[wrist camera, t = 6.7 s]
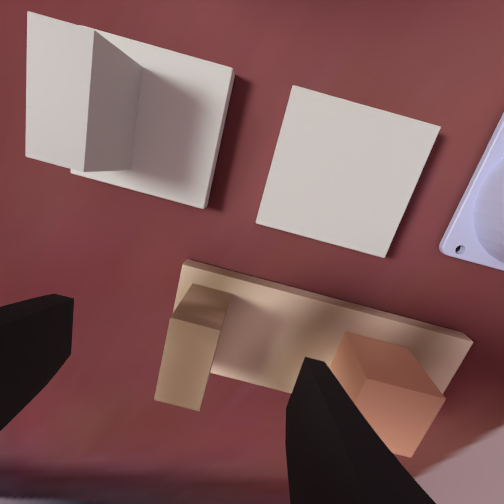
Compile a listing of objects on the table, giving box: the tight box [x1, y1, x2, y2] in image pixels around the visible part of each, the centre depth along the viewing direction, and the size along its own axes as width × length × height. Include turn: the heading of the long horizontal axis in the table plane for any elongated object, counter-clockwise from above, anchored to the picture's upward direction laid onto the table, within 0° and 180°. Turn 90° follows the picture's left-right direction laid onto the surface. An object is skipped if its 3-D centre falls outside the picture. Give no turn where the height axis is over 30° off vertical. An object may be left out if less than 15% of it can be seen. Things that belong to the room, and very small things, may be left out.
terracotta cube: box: [330, 331, 446, 458], centre depth 16 cm, size 4×4×4 cm
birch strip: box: [154, 259, 473, 411], centre depth 16 cm, size 18×7×5 cm, turn 75°
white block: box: [26, 11, 441, 258], centre depth 13 cm, size 18×7×5 cm, turn 75°
